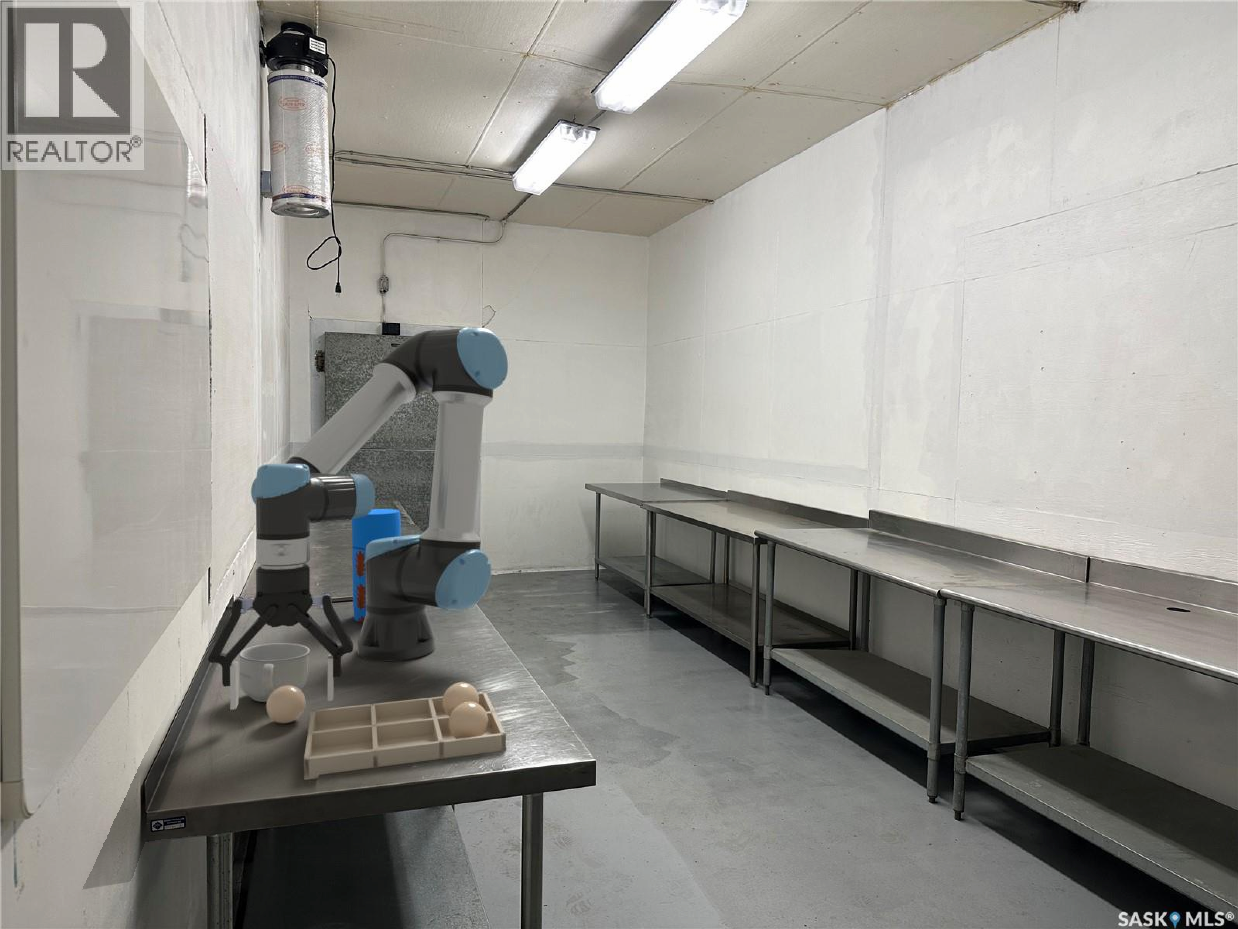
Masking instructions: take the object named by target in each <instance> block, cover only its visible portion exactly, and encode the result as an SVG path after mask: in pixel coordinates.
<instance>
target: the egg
mask: <svg viewBox="0 0 1238 929" xmlns="http://www.w3.org/2000/svg"><path fill="white" fill-rule="evenodd" d="M265 707H266V712H267V715H268V716H269V718H270V719H271V720H272V721H274V722H275V723H278V724H289V723H292V722H295V721H296V720H297V719H298V718H300V717H301V716H302V715H303V713H304V712H305V708H306V697H305V694H304V693H303V691H302V689H301V690H300V689H299V688H297V687H295V686H290V685H286V686H282V687H279V688H277V689H276V690H274V691H273V692H272V693H271V694H270V696H269V698H268V700H267V702H266V704H265Z"/></svg>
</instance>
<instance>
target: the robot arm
mask: <svg viewBox="0 0 1238 929" xmlns="http://www.w3.org/2000/svg"><path fill="white" fill-rule="evenodd" d="M508 370H509V362H508V356H507V351H506V350H505V347H504V345H503V344H502V343H501V340H500V338H499V337H498V336H497V335H496V334H495V333H494V332H493V331H491V330H490V329H487V328H484V327H483V328H482V327H470V326H466V327H463V328H453V329H452V328H451V329H439V330H438V329H437V330H436V329H434V330H426V331H425V330H423V331H422V332H419V333H416V334H414V335H413V336H410V337H409V338H407V339H406V340H404V341H403V342H402V343H400V344H399V345H397V346H396V347H395V348H394V349H392V350H391V351H390V352H389V353H388V354H387V355H385V357H383V358H382V359H381V360H380V361H379V362H378V364H376V365H375V366H374V368H373V370H372V375H373V376H372V377H371V378H370V379H369V380H367V382H366V383H365V384H363V386H362V387H361V388H360V389H359V390H358V391H356V393H354V395H353V396H352V397H351V398H350V399H348V401H347V402H346V403H345V404H344V405H342V407H340V408H339V409H338V410H337V411H336V412H335V413H334V415H332V417H331V418H330V419H328V421H326V423H324V425H323V426H321V427H320V428H319V430H317V432H315V433H314V434H313V435H312V437H310V438H309V439H308V441H306V442H305V443H304V444H303V445H302V446H301V447H300V448H299V449H298V450H297V451H296V452H295V453H294V454H293V455H292V456H291V457H290V458H289V459H288V460H287V461H285V463H266V464H262V465H260V466H259V467H258V469H257V470H256V477H255V478H254V480H253V482H252V485H251V489H250V494H251V495H250V496H251V499H252V501H253V503H254V504H255V533H256V534H255V537H256V538H255V563H256V564H257V565H259V566H258V567H257V568H256V569H255V597H254V599H250V598H249V599H248V598H244V597H242V596H237V597H236V598H235V599H234V601H233V602H232V609H231V614H230V617H229V619H228V621H227V622H226V624H225V626H224V628H223V630H222V631H221V633H220V636H219V637H218V639H217V641H216V643H215V645H214V647H213V648H212V651H211V652H210V654H209V655H208V657H207V660H208V662H209V663H211V664H213V663H216V664H219V665H220V666H221V670H222V671H221V674H222V675H221V676H222V677H221V680H222V682H221V684H222V686H223V687H229V696H230V700H229V709H230V711H231V710H232V711H233V710H237V708H238V705H239V660H237V661H236V660H235V659H236V658H237V657H238V656H239V653H240V652H241V651H242V650H244V649H246V646H247V645H248V644H249V643H251V641H252V640H253V639H254V638H255V637H256V635H257V634H258V633H259V632H260V631H261V630H262V629H263V628H264V627H265V625H267V626H270V627H271V628H278V627H282V626H284V627H294V626H296V625H298V624H299V625H301V626H302V627H303V628H304V629H306V631H308V632H309V633H310V634H311V636H312V637H313V638H315V640H316V641H318V643H319V644H321V645H322V646H323V648H324V649H325V650H326V651H327V652H328V653H329V654H328V655H327V701H328V702H330V701H333V700H334V678H340V677H341V675H342V657H343V656H344V655H346V654H350V653H352V652H353V651H354V643H353V641H352V639H351V637H350V636H349V634H348V632H347V630H346V629H345V627H344V624H343V623H342V621H341V619H340V618H339V615H338V614H337V612H336V610H335V609H334V608H335V607H334V606H333V602H332V601H333V600H332V594H331V593H330V592H324V593H323V594H322V595H315V596H313V595H312V594H311V591H310V590H311V589H310V586H311V585H310V583H311V582H310V579H311V577H310V576H311V575H310V569H311V568H310V566H309V565H308V564H306V563H308V562H310V559H311V557H310V556H311V555H310V554H311V553H310V551H311V542H310V541H311V539H310V538H311V524H315V523H323V522H331V521H332V522H335V521H345V520H349V521H352V519H355V518H360V517H364V516H366V515H368V514H369V513H370V512H371V510H372V509H373V508H374V507H375V506H374V505H375V502H376V490H375V486H374V484H373V482H372V481H371V480H370V478H369V477H368V476H366V475H365V474H363V473H352V472H351V473H350V472H346V473H339V471H341V469H342V468H343V467H345V465H346V464H347V463H348V462H350V460H351V459H352V457H354V456H355V454H356V453H357V452H358V451H360V450H361V448H362V447H363V446H364V445H365V444H366V443H367V442H368V441H369V440H370V439H371V438H372V436H373V435H375V433H376V432H377V431H378V430H379V429H380V428H381V427H382V426H383V425H384V424H385V423H386V422H387V421H388V419H390V417H391V416H392V415H393V414H395V413H396V411H397V410H398V409H399V408H400V407H401V406H402V405H403V404H409V403H411V402H413V401H414V400H415V399H416V398H417V396H418V395H420V394H421V393H423V392H426V391H429V390H431V396H432V397H433V398H434V399H435V400H436V401H437V403H438V413H437V423H436V424H437V427H436V435H435V436H436V437H435V448H434V449H435V450H434V460H433V474H432V480H431V481H432V484H431V494H430V495H431V496H430V507H429V518H428V527H427V528H426V530H425V531H423V532H422V533H421V534H409V535H408V534H407V535H401V536H398V537H390V538H383V539H378V540H373V541H371V542H369V543H368V545H367V546H366V558H365V561H364V562H365V585H366V617H365V620H364V623H363V624H362V627H361V629H360V632H359V635H358V639H357V647H356V648H357V652H356V653H357V655H358V656H359V657H360V658H363V659H366V660H370V661H377V662H393V661H394V662H395V661H405V660H411V659H412V660H413V659H416V658H421V657H424V656H426V655H428V654H431V653H432V652H434V651H435V649H436V637H435V633H434V629H433V627H432V625H431V621H430V618H429V616H428V613H427V606H429V607H433V608H434V607H435V608H439V609H442V610H445V611H448V610H449V611H451V610H453V611H465V610H468V609H471V608H472V607H474V606H475V605H477V604H478V603H479V602H480V599H482V598H483V597H484V595H485V594H486V592H487V590H488V589H489V588H488V587H489V585H490V582H491V578H492V565H491V561H489V557H488V555H487V554H486V553H484V552H483V551H482V550H481V543H482V542H481V540H482V539H481V537H480V536H478V534H477V533H476V531H475V522H476V521H475V518H476V506H477V497H478V496H477V495H478V486H479V485H478V483H479V474H480V473H479V472H480V471H479V470H480V462H481V461H480V459H481V448H482V435H483V422H484V414H485V413H484V411H485V408H486V407H487V406H488V405H489V404H490V403H491V402H493V398H494V390H495V389H497V388H499V387H500V386H502V385H503V384H504V381H505V380H506V379H507V376H508ZM313 605H316V606H317V608H318V609H319V610H323V612H324V614H325V617H326V618H327V621H328V623H329V624H330V627H331V628H332V629H333V631H334V633H335V635H336V637H337V639H338V640H339V643H340V645H339V644H337V643H336V642H335V641H334V639H333V638H332V637H331V636H330V635H329V634H328V633H327V632H326V630H324V629H323V628H322V627H321V626H320V625H319V624H318V623H317V621H315V619H314V618H313V617H312V616H311V614H309V613H308V612H309V610H310V609H311V608H312V606H313ZM250 608H252V609H253V610H254V611H255V613H256V614H257V615H258V618H257V619H256V620H255V621H254V622H253V624H252V625H250V627H249V628H248V629H247V630H246V631H245V632H244V633H243V635H242V636H241V637H240V638H239V639H238V640H237V641H236V643H234V645H232V647H231V648H230V649H229V651H228V652H226V653H225V652H223V651H224V649H225V647H226V644H227V643H228V641H229V638H230V637H231V635H232V633H233V632H234V629H235V628H236V625H237V624H238V622H239V620H240V618H241V616H242V614H243V615H244V614H246V613H247V612H248V610H249V609H250ZM234 660H235V661H234Z"/></svg>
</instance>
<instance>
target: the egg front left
mask: <svg viewBox="0 0 1238 929" xmlns="http://www.w3.org/2000/svg"><path fill="white" fill-rule="evenodd" d="M487 726H488V716H487V713H486V711H485V709H484V708H483V707H482V706H481V705H479V704H477V703H475V702H464V703H461V704H459V705H458V706H457V707H455V708H454V710H453V711H452V713H451V714H450V717H449V729H450V732H451V734H452V735H453V736H454V737H455V738H456V739H459V738H467V737H475V736H482V735H483V734H484V733H485V731H486V729H487Z"/></svg>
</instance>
